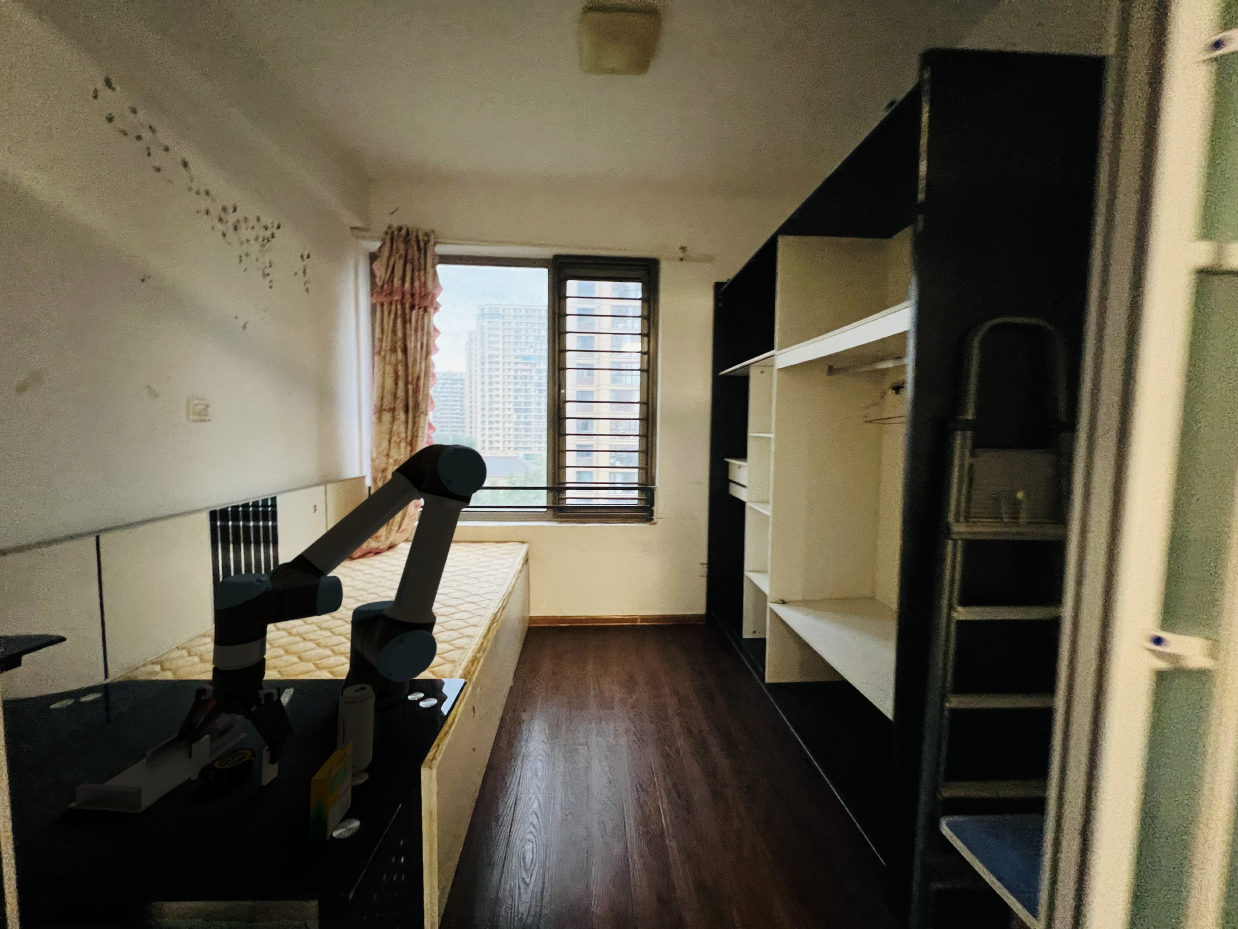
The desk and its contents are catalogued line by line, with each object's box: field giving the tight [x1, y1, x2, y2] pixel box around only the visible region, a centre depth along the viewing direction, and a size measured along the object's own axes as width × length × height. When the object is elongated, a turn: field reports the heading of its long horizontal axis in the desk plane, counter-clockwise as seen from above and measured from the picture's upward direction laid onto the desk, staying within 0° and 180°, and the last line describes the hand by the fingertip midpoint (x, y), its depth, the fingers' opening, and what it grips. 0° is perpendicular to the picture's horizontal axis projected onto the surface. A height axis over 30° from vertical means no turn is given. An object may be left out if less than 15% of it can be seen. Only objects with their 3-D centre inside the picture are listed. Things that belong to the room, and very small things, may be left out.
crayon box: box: [308, 740, 353, 841], centre depth 75 cm, size 7×3×12 cm, turn 4°
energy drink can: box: [336, 684, 375, 776], centre depth 88 cm, size 6×6×15 cm
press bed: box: [68, 724, 248, 814], centre depth 85 cm, size 12×21×3 cm, turn 179°
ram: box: [184, 680, 237, 743], centre depth 93 cm, size 7×5×11 cm
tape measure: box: [197, 747, 257, 787], centre depth 84 cm, size 7×7×4 cm
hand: (234, 777), depth 83 cm, fingers open, 12 cm apart
